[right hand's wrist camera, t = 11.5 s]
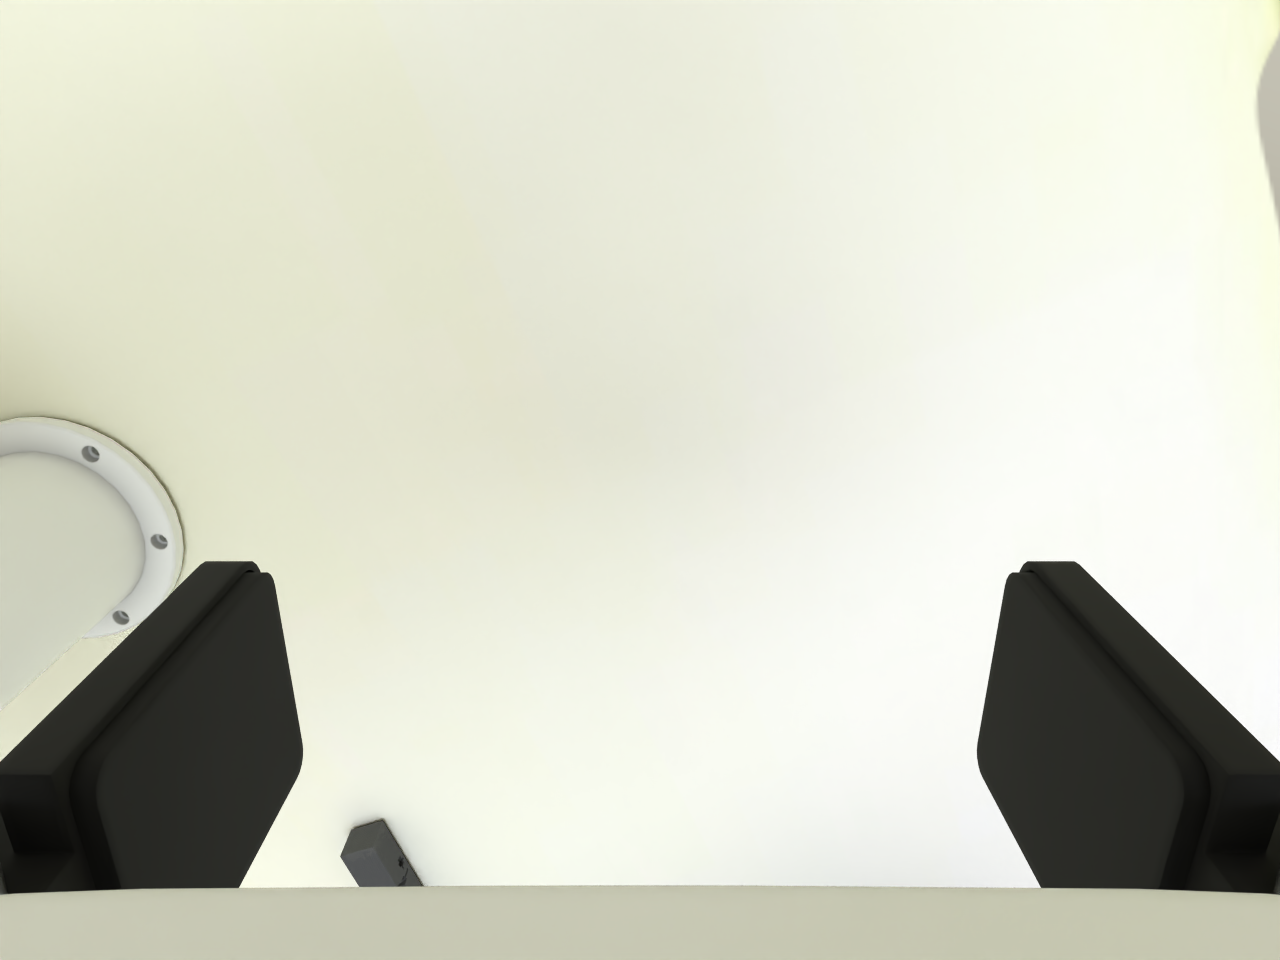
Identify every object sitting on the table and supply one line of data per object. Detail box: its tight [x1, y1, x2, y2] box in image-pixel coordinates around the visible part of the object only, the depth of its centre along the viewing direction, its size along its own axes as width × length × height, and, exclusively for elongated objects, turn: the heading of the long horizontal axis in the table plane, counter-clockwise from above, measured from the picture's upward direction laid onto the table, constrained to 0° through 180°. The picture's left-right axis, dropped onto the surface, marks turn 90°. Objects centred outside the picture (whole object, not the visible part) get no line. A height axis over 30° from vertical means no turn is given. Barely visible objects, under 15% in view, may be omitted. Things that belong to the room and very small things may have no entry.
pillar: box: [340, 820, 422, 887], centre depth 57 cm, size 2×2×20 cm
